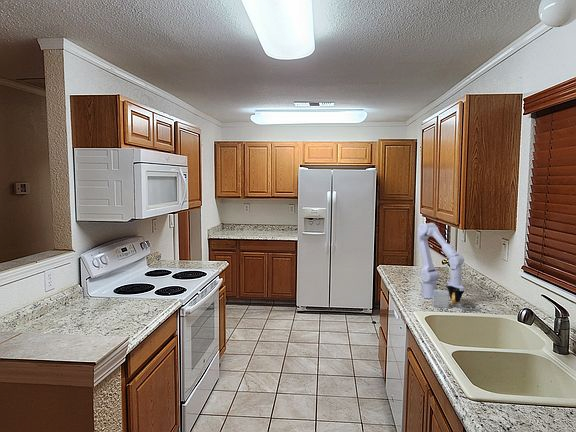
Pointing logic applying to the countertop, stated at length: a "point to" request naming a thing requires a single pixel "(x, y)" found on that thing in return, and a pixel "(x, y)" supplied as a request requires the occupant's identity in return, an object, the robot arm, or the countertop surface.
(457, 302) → the wire nut cap
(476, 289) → the countertop surface
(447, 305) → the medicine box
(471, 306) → the junction plate
